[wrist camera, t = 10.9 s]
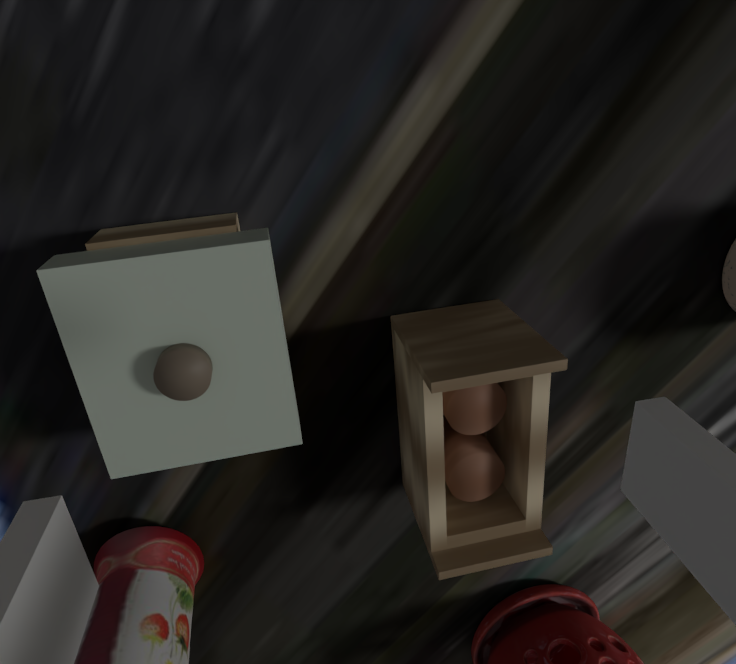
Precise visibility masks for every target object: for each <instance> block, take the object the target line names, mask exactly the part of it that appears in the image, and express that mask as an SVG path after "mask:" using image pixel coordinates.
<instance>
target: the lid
mask: <svg viewBox="0 0 736 664" xmlns="http://www.w3.org/2000/svg"><path fill="white" fill-rule="evenodd" d="M36 271H37V274H38V277H39V280H40V282H41V285H42V288H43V291H44V294H45V296H46V299H47V302H48V305H49V308H50V310H51V313H52V316H53V319H54V321H55V324H56V327H57V330H58V333H59V335H60V338H61V341H62V344H63V347H64V349H65V352H66V355H67V358H68V361H69V363H70V366H71V369H72V372H73V375H74V377H75V380H76V383H77V386H78V388H79V391H80V394H81V397H82V400H83V402H84V405H85V408H86V411H87V414H88V416H89V419H90V422H91V425H92V428H93V430H94V433H95V436H96V439H97V442H98V444H99V447H100V450H101V453H102V455H103V458H104V461H105V464H106V467H107V469H108V472H109V475H110V478H111V479H115V478H121V477H126V476H132V475H137V474H142V473H148V472H153V471H159V470H164V469H170V468H175V467H180V466H186V465H191V464H197V463H202V462H208V461H213V460H218V459H224V458H229V457H235V456H240V455H246V454H251V453H256V452H262V451H267V450H273V449H278V448H284V447H289V446H294V445H300V444H303V442H302V435H301V428H300V421H299V415H298V408H297V402H296V396H295V390H294V384H293V378H292V372H291V366H290V360H289V354H288V348H287V341H286V335H285V329H284V323H283V317H282V311H281V305H280V299H279V293H278V287H277V281H276V274H275V268H274V262H273V256H272V250H271V244H270V238H269V232H268V228H262V229H254V230H246V231H238V232H231V233H223V234H215V235H207V236H199V237H192V238H184V239H176V240H168V241H160V242H153V243H145V244H137V245H129V246H122V247H114V248H106V249H98V250H90V251H83V252H75V253H67V254H59V255H54V256H53V257H52V258H50V259H49V260H48V261H47V262H46V263H45V264H43V265H42V266H41V267H40V268H39V269H37V270H36Z"/></svg>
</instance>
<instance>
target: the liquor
mask: <svg viewBox="0 0 736 664" xmlns="http://www.w3.org/2000/svg"><path fill="white" fill-rule="evenodd" d="M203 569H204V559H203V554H202V552H201V550H200V548H199V547H198V545H197V544H196V543H195V542H194V541H193V540H192V539H191V538H189V537H188V536H187V535H185V534H183V533H181V532H179V531H176V530H173V529H170V528H165V527H159V526H145V527H137V528H133V529H129V530H126V531H123V532H121V533H119V534H117V535H115V536H114V537H112V538H111V539H109V540H108V541H107V542H106V543H105V544H104V545H103V546H102V547H101V548H100V550H99V551H98V553H97V555H96V557H95V561H94V573H95V577H96V580H97V582H98V584H99V587H98V590H97V593H96V597H95V600H94V603H93V606H92V609H91V612H90V615H89V618H88V621H87V624H86V628H85V631H84V634H83V637H82V640H81V643H80V646H79V649H78V652H77V656H76V659H75V662H74V664H189V650H190V635H191V622H192V610H193V599H194V587H195V585H196V583H197V582H198V580H199V579H200V577H201V575H202V572H203Z"/></svg>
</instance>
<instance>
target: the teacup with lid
mask: <svg viewBox="0 0 736 664" xmlns="http://www.w3.org/2000/svg"><path fill="white" fill-rule="evenodd" d="M722 287H723V292H724V296H725V298H726V300H727V302H728V304H729V305H730V306H731V308H732V309H733V310H734V311H735V312H736V239H735V240H734V242H733V244H732V245H731V247H730V249H729V252H728V254H727V257H726V259H725V263H724V267H723V273H722Z"/></svg>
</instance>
